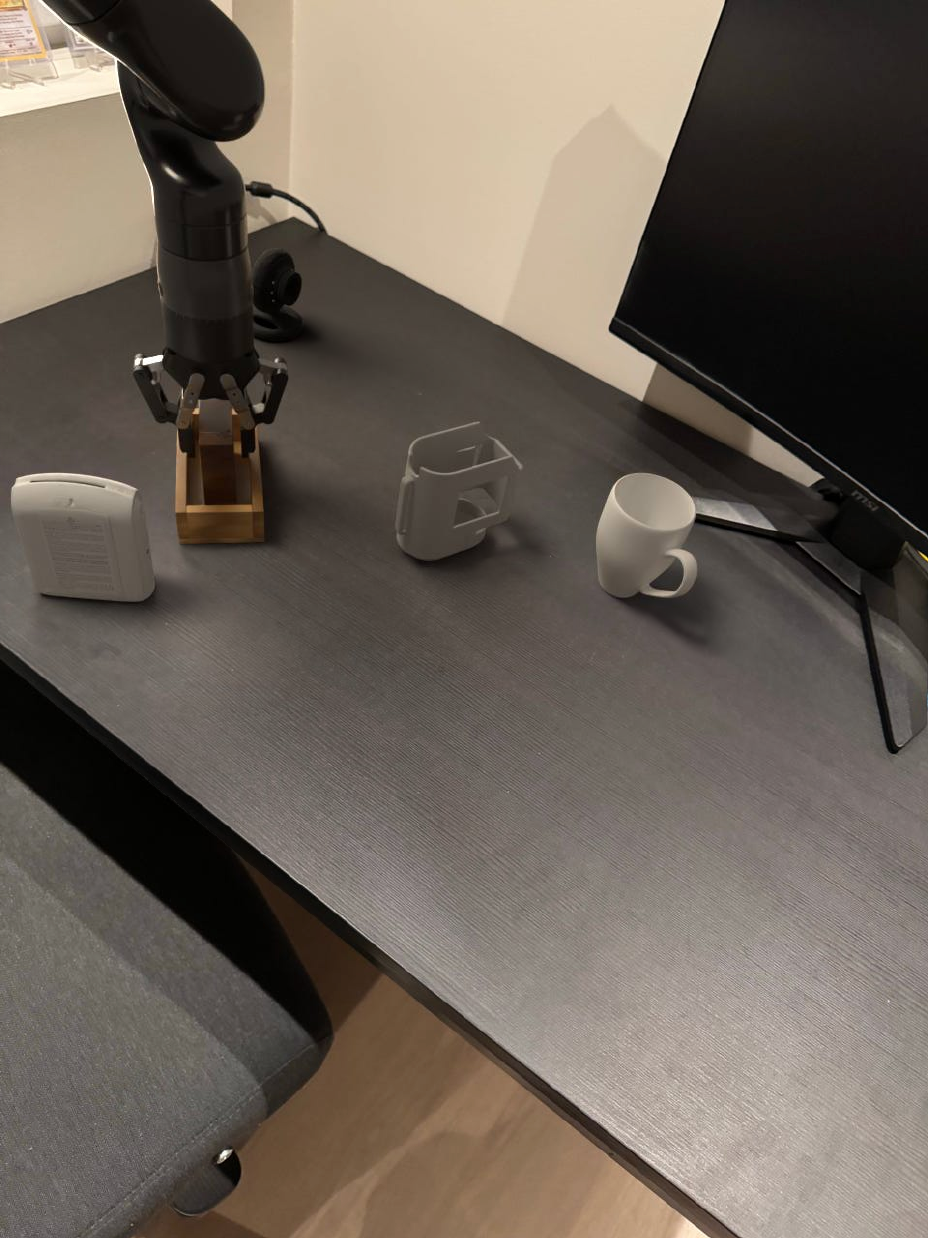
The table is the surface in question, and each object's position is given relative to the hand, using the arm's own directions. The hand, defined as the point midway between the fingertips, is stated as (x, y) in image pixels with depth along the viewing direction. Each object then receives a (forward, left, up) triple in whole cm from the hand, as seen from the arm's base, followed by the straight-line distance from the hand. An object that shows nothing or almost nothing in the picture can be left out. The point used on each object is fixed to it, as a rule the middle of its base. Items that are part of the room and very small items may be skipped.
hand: (218, 452), depth 84 cm
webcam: (+7, +31, -5) cm, 32 cm away
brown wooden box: (0, 0, -4) cm, 4 cm away
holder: (0, 0, -5) cm, 5 cm away
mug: (+40, -17, -5) cm, 44 cm away
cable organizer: (+23, -8, -5) cm, 25 cm away
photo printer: (-11, -13, -5) cm, 18 cm away
